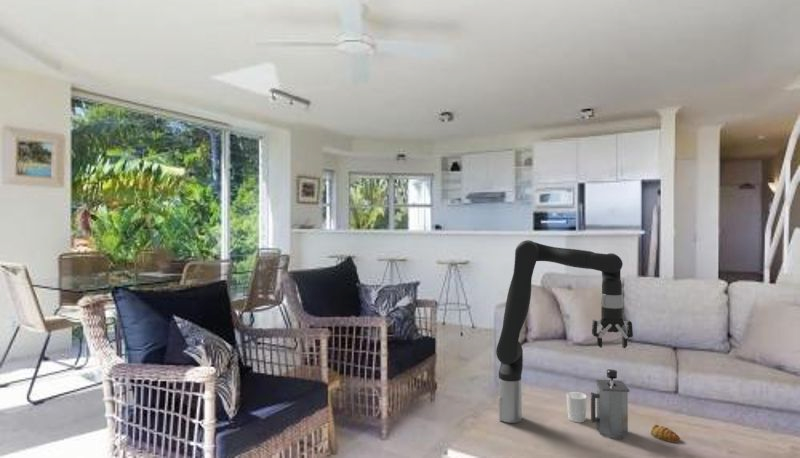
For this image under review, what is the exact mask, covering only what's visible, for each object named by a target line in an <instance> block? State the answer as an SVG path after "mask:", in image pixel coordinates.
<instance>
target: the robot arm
mask: <svg viewBox="0 0 800 458" xmlns="http://www.w3.org/2000/svg"><path fill="white" fill-rule="evenodd" d="M514 252H515V253H514V265H513V274H512V278H511V281H510V284H509V288H508V290H507V295H506V296H507V297H506V301H505V308H504V314H503V320H502V329H501V333H500V336H499V339H498V343H497V345H496V350H495V351H496V352H495V354H496V357H497V360H499V362H500V366H499V369H498V417H499V419H498V420H499V422H504V423H507V424H517V423H521V422H522V420H523V418H522V417H523V408H522V407H523V406H522V405H523V403H522V401H523V400H522V391H523V390H522V373H523V368H524V367H523V365H524V364H523V360H524V359H523V358H524V353H523V351H524V350H523V346H522V344H521V342H520V334H521V331H522V329H523V326H524V324H525V322H526V319H527V316H528V313H529V309H530V304H531V297H532V279H533V273H534V270H535V267H536V263H537V262H549V263H555V264H560V265H563V266H567V267H573V268H578V269H585V270H594V271H599V272H601V278H602V280H601V299H600V300H601V301H600V305H601V309H600V310H601V313H600V314H601V315H600V317H601V319H600V320H596V319H592V323H591V324H592V325H591V326H592V327H591V328H592V329H591V334H592V336H593V337H596V344H597V346H598V347H599V348H603V338H602V337H603V336H604V335H606V334H607V333H618V332H619V333H620V335H621V336H622V337H621V344H622V345H621V347H622V348H623V349H626V348H627V347H628V339H629V338H633V337H634V334H633V333H634V331H633V322H632V321H631V320H624V315H623V313H624V310H623V307H624V306H623V304H624V303H623V300H624V299H623V284H622V280H621V270H622V268H623V260H622V259H621V257H620V256H619V255H617V254H616V253H611V252H610V253H599V252H598V253H597V252H594V251H590V250H583V249H575V248H566V247H565V248H564V247H557V246H556V247H555V246H550V245H545V244H542V243H538V242H535V241H532V240H527V239H526V240H522V241H521V242H519V244H517V246H516V248H515V251H514ZM600 325H601V328H600V330H599V331H598V327H599V326H600ZM624 325H625V327H626V331H627V332H626V333H625V331H624V330H623V329H622V328H623V327H624Z"/></svg>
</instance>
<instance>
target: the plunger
mask: <svg viewBox="0 0 800 458" xmlns="http://www.w3.org/2000/svg"><path fill="white" fill-rule="evenodd" d="M606 378H608V379H609V380H611V386H613V380H615V379H616V380H617V379H618V371H617V370H616V369H612V368H611V369H606Z"/></svg>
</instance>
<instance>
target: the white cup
mask: <svg viewBox="0 0 800 458" xmlns="http://www.w3.org/2000/svg"><path fill="white" fill-rule="evenodd" d="M565 396H566V409H567V416H568V417H567V419H568V420H569V421H571V422H572V423H573V422H574V423H584V422H585V421H586V416H587V415H586V414H587V400H588V399H587V398H588V397H587V395H586V394H585V393H583V392H580V391H570V392H566V395H565Z"/></svg>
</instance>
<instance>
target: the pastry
mask: <svg viewBox="0 0 800 458" xmlns="http://www.w3.org/2000/svg"><path fill="white" fill-rule="evenodd" d="M650 435H651V436H652V437H653V438H656V439H658V440H661V441H664V442H668V443H675V444H676V443H678V442H680V439H681V437H680V436H679V435H678V434H677V433H676V432H674V431H673V430H671V429H669V428H668V427H665V426H663V425H658V424H654V425H653V426H652V427H651V430H650Z"/></svg>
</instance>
